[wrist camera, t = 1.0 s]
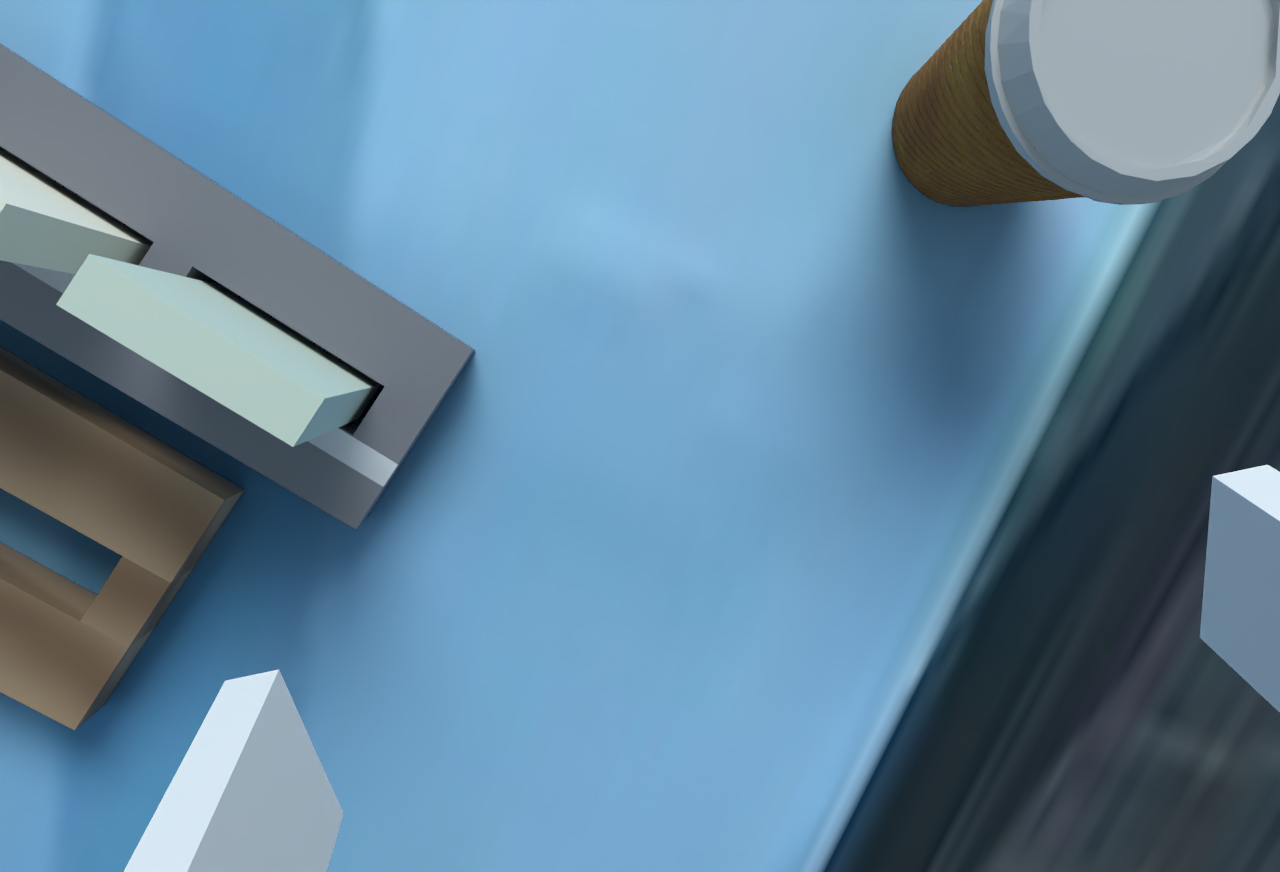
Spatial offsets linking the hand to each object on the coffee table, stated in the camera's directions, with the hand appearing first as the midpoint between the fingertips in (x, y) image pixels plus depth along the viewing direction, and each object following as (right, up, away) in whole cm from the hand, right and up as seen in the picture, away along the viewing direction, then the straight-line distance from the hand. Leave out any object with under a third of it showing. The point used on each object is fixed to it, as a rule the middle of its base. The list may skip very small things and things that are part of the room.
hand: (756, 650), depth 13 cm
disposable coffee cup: (+12, +16, +26) cm, 33 cm away
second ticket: (-15, +6, +22) cm, 28 cm away
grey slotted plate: (-19, +9, +22) cm, 30 cm away
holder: (-25, 0, +22) cm, 33 cm away
